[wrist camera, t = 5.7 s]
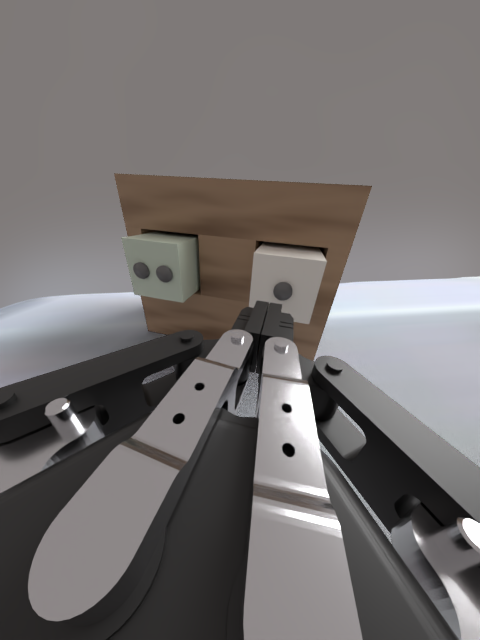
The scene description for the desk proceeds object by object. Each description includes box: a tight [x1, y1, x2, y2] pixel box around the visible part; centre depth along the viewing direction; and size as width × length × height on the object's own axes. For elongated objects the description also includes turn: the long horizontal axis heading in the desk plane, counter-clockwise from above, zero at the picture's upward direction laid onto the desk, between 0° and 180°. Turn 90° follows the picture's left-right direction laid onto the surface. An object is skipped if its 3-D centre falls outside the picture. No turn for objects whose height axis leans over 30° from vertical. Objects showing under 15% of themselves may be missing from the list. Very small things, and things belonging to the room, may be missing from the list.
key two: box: [121, 231, 201, 303], centre depth 19 cm, size 6×5×5 cm
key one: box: [249, 242, 327, 324], centre depth 17 cm, size 6×5×5 cm
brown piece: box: [115, 174, 372, 361], centre depth 23 cm, size 10×20×16 cm, turn 76°
